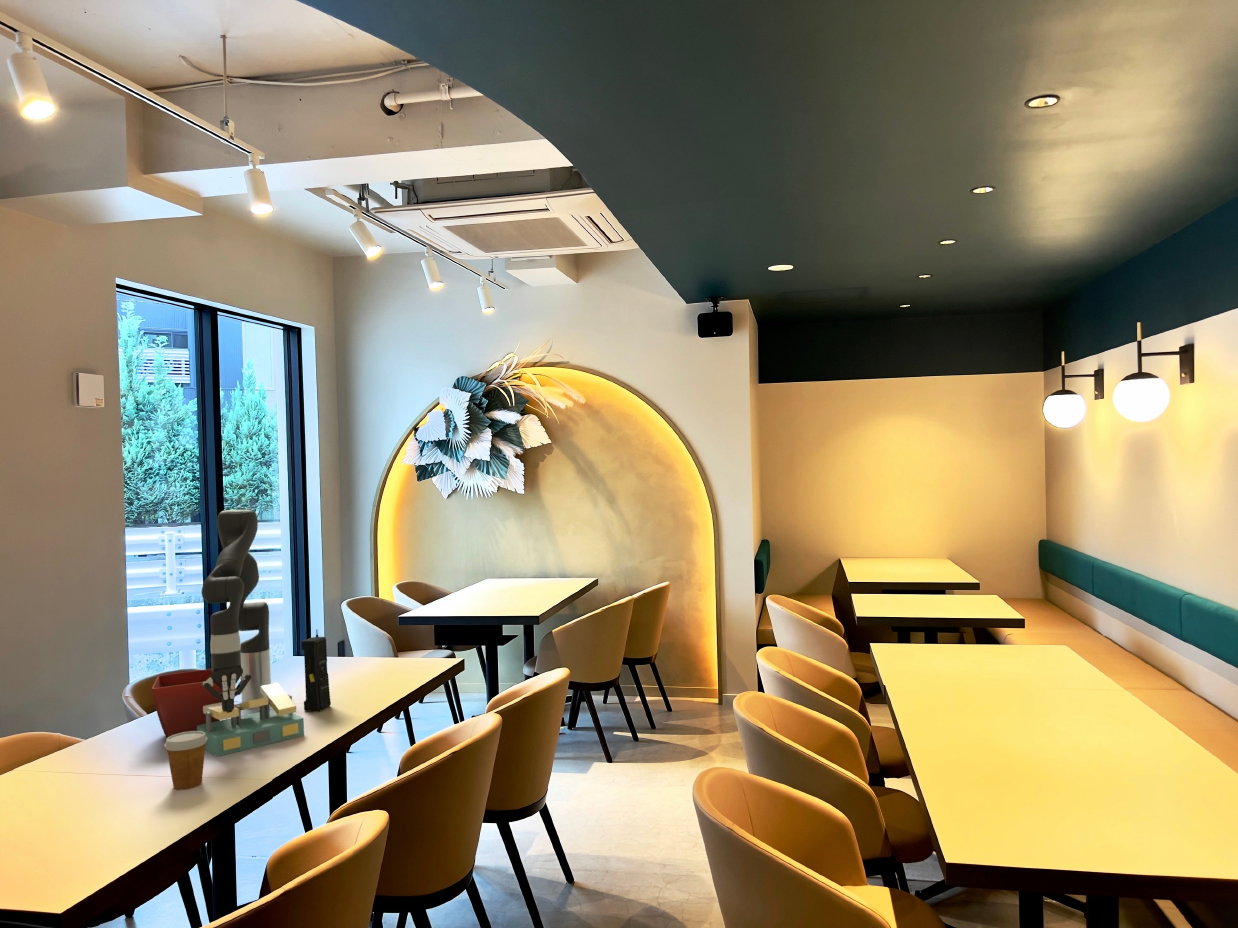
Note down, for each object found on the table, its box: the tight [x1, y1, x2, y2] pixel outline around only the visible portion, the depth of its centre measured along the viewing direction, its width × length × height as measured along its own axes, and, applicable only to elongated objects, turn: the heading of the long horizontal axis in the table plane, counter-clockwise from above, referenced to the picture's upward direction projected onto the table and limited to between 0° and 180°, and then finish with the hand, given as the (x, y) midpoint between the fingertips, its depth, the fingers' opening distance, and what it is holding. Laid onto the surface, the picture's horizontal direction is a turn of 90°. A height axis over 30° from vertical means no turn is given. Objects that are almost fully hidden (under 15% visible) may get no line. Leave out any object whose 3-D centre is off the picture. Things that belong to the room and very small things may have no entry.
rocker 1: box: [203, 702, 239, 721], centre depth 241 cm, size 15×5×2 cm, turn 42°
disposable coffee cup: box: [163, 731, 208, 790], centre depth 211 cm, size 10×10×12 cm
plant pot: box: [151, 668, 222, 739], centre depth 254 cm, size 19×19×17 cm
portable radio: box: [300, 629, 332, 713], centre depth 275 cm, size 8×6×25 cm
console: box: [197, 694, 305, 757], centre depth 246 cm, size 17×24×10 cm
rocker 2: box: [234, 697, 268, 712], centre depth 246 cm, size 15×5×2 cm, turn 42°
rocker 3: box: [260, 682, 297, 716], centre depth 252 cm, size 15×5×2 cm, turn 42°
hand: (228, 712), depth 236 cm, fingers closed
